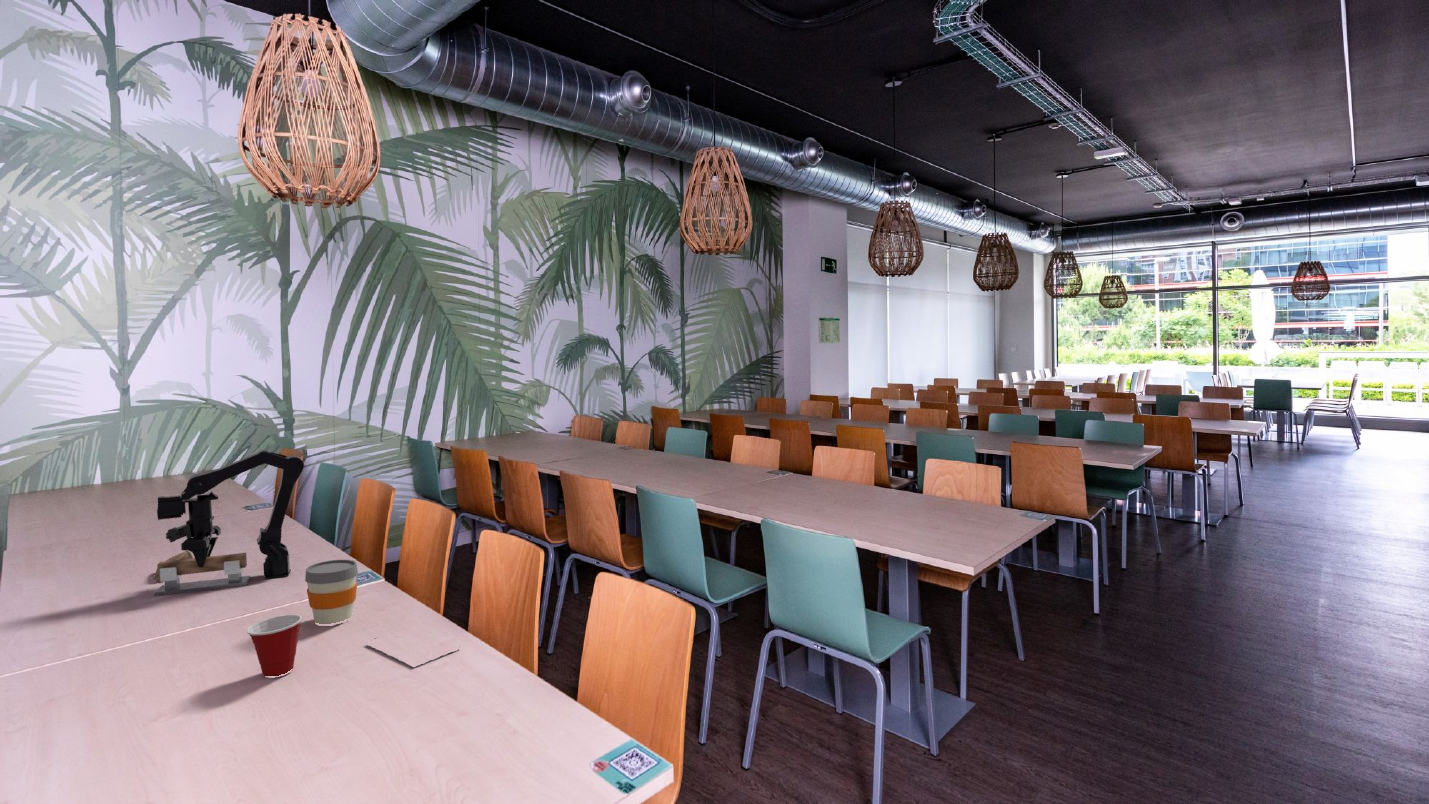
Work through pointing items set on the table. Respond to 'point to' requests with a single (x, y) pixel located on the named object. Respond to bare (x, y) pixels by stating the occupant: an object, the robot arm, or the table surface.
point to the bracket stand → (175, 586)
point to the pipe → (177, 557)
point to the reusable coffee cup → (332, 590)
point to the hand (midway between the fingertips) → (203, 564)
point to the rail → (210, 564)
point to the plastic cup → (276, 643)
